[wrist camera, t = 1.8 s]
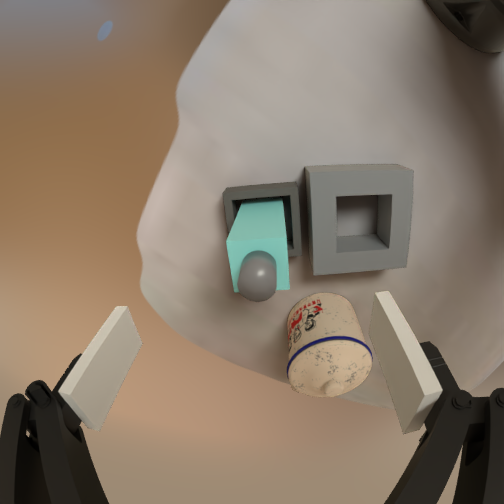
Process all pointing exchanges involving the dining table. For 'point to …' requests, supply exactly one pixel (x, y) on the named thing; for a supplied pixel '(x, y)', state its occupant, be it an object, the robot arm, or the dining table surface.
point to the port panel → (361, 246)
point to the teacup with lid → (326, 347)
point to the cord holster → (267, 191)
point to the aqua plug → (259, 249)
